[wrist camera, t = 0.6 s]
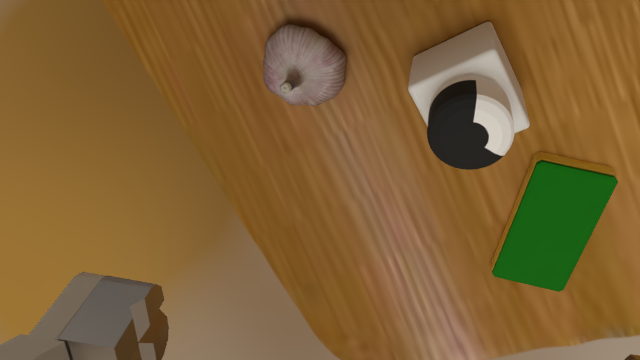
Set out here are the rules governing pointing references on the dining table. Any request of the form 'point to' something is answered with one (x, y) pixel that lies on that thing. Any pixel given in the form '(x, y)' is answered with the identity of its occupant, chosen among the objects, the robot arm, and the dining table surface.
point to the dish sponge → (552, 220)
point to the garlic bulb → (303, 66)
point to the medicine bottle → (468, 98)
